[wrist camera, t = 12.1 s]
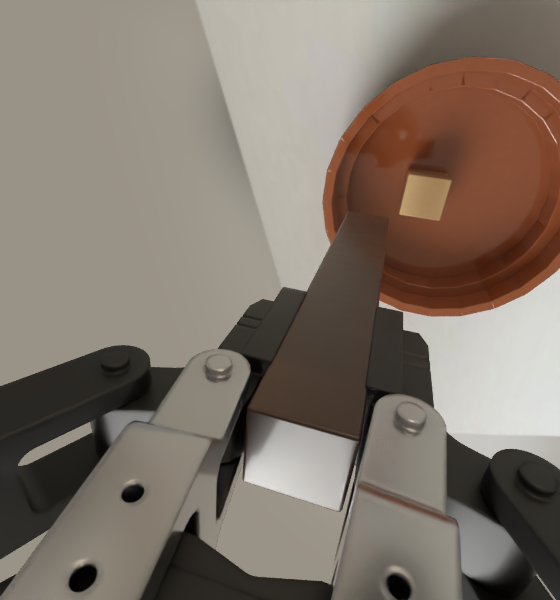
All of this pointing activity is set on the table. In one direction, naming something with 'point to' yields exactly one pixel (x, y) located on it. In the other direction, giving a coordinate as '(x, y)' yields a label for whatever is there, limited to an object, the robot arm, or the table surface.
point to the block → (424, 194)
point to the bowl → (458, 183)
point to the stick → (320, 375)
